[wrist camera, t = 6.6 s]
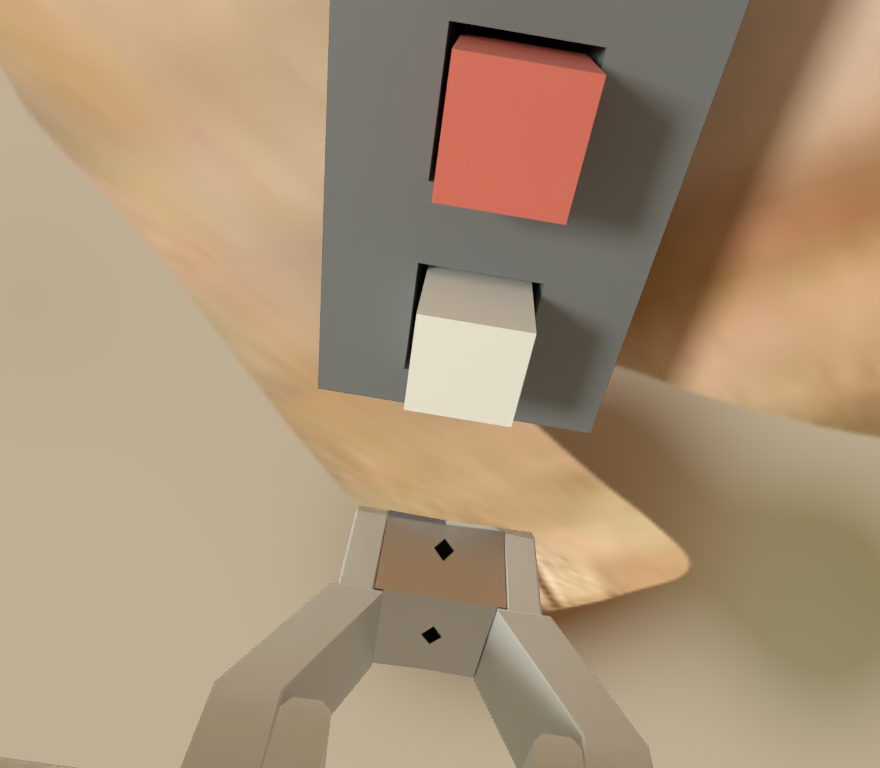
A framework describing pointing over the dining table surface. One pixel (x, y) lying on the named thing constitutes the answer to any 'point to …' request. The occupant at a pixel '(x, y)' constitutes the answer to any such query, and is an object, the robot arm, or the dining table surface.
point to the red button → (515, 127)
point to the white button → (470, 346)
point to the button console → (496, 235)
